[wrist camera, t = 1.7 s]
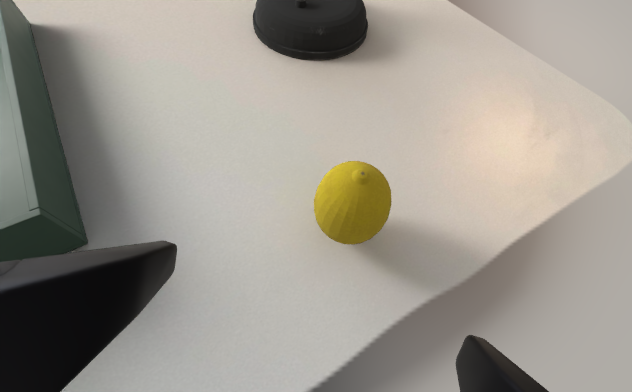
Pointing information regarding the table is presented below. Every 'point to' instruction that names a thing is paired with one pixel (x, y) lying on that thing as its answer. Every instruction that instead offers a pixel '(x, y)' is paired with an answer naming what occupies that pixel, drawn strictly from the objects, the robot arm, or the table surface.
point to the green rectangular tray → (31, 154)
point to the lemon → (352, 202)
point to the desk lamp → (311, 27)
